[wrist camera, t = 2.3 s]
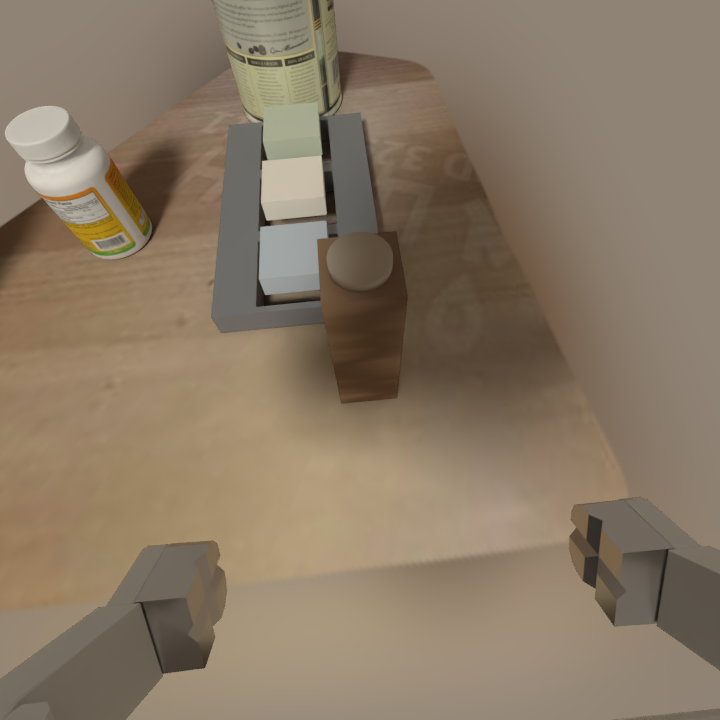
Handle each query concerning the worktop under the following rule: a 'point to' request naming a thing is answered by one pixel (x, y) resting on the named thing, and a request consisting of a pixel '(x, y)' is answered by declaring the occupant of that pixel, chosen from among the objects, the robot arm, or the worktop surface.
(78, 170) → the supplement bottle
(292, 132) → the key
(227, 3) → the coffee can
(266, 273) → the key
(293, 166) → the key mid
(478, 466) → the worktop surface
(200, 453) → the worktop surface
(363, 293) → the wooden pepper mill
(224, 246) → the keypad
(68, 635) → the robot arm
